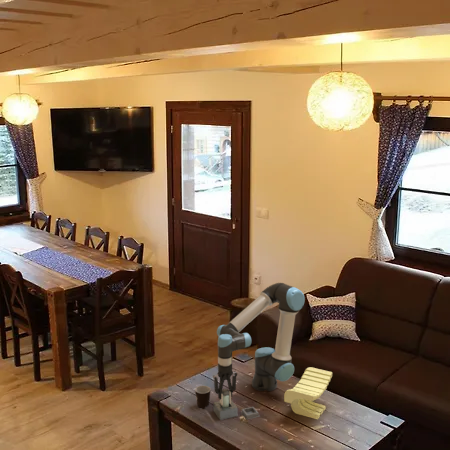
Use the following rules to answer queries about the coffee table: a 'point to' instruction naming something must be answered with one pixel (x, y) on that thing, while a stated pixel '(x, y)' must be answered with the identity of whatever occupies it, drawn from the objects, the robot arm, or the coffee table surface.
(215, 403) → the port block
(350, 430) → the coffee table surface
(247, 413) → the grey square open tray
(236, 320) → the robot arm
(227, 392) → the plug
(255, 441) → the coffee table surface
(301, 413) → the slatted curved stool
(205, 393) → the coffee mug
